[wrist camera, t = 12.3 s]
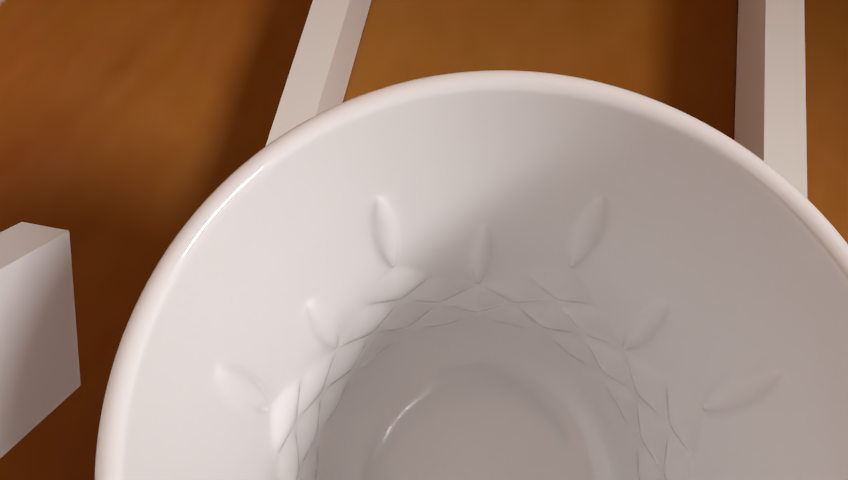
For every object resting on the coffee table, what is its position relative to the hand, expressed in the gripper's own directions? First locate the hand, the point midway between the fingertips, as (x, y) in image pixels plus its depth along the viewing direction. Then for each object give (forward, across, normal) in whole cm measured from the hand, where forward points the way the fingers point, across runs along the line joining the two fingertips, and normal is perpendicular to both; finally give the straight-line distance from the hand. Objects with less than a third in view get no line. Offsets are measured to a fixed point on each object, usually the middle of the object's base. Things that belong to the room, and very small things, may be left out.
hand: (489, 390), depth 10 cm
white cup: (+4, 0, -5) cm, 7 cm away
